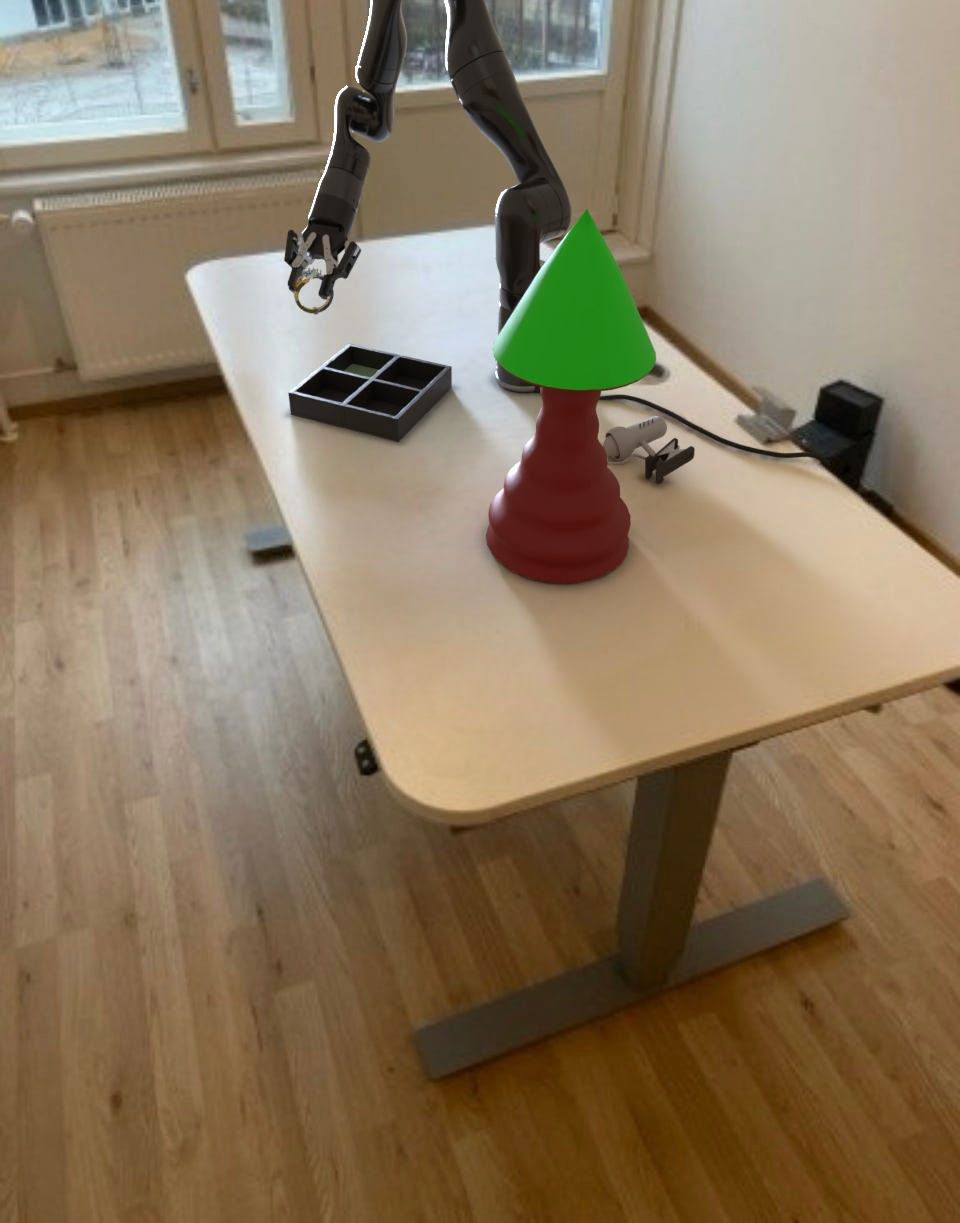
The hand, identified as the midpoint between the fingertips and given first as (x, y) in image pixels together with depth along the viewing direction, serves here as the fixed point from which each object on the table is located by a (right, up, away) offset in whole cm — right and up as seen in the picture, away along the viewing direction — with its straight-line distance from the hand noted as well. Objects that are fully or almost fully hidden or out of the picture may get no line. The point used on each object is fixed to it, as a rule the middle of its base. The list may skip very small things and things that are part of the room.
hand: (307, 294), depth 168 cm
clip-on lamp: (+52, -34, -19) cm, 65 cm away
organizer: (+12, -20, -5) cm, 24 cm away
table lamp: (+41, -46, -34) cm, 70 cm away
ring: (+1, -2, +4) cm, 5 cm away
